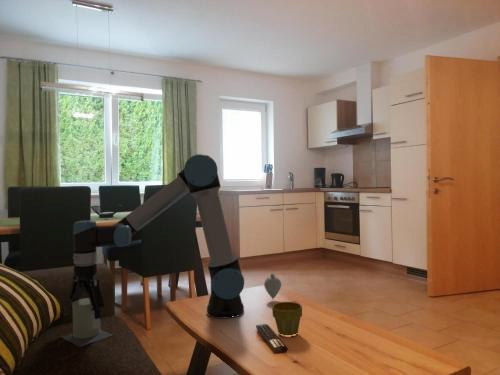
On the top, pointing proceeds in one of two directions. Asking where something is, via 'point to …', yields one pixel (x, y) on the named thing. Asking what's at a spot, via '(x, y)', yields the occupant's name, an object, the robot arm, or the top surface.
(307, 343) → the top surface
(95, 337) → the tile
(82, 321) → the can
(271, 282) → the spinning top
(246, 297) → the top surface
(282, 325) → the plant pot
